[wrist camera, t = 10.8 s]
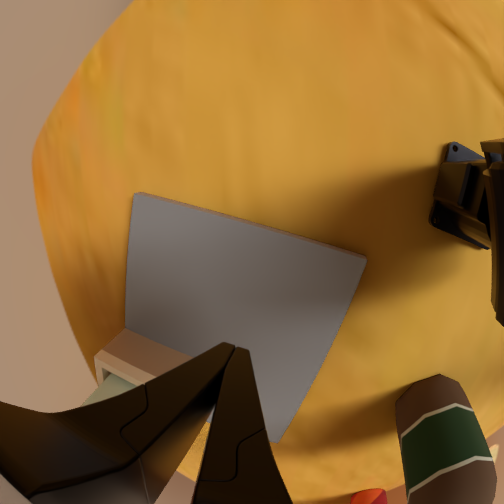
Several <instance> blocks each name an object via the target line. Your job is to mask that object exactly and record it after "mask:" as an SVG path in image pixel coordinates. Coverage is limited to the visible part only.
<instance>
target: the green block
mask: <svg viewBox="0 0 504 504" xmlns="http://www.w3.org/2000/svg"><path fill="white" fill-rule="evenodd" d="M135 387H137V386H136V385H134V384H132V383H130V382H128V381H126V380H124V379H123V378H121V377H119V376H117V375H115V374H113V373H111V374H110V375H109V376H108V377H107V378H106V379H105V381H104V382H103V383H102V384H101V385H100V386H99V387H98V388H97V389H96V390H95V391H94V392H93V393H92V395H91V396H90V397H89V398H88V399H87V400H86V401H85V402H84V403H83V404H82V405H81V406H80V407H82V406H85V405H89V404H92V403H95V402H99V401H102V400H105V399H108V398H111V397H114V396H116V395H119V394H121V393H124V392H126V391H128V390H131V389H133V388H135Z"/></svg>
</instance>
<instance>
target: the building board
mask: <svg viewBox="0 0 504 504" xmlns="http://www.w3.org/2000/svg"><path fill="white" fill-rule="evenodd" d="M366 263H367V259H366V257H365V256H364V255H361V254H358V253H354V252H351V251H348V250H345V249H342V248H338V247H335V246H332V245H329V244H325V243H322V242H319V241H316V240H312V239H309V238H306V237H302V236H299V235H296V234H292V233H289V232H286V231H282V230H279V229H275V228H272V227H268V226H265V225H262V224H258V223H255V222H251V221H248V220H244V219H240V218H237V217H233V216H230V215H226V214H223V213H219V212H215V211H212V210H208V209H204V208H201V207H197V206H193V205H189V204H186V203H182V202H178V201H174V200H170V199H167V198H163V197H159V196H155V195H151V194H147V193H143V192H138V193H134V198H133V206H132V214H131V223H130V233H129V244H128V256H127V272H126V296H125V328H124V329H123V330H122V331H121V332H120V333H119V334H118V335H117V336H116V337H114V338H113V339H112V340H111V341H110V342H109V343H108V344H107V345H106V346H105V347H103V348H102V349H101V350H100V351H99V352H98V353H97V354H96V355H95V356H94V362H95V369H96V376H97V382H98V387H99V386H100V385H101V384H102V383H103V382H104V381H105V379H106V378H107V377H108V376H109V375H110V374H111V373H113V374H115V375H117V376H119V377H121V378H123V379H124V380H126V381H128V382H130V383H132V384H134V385H136V386H139V385H141V384H144V385H145V382H148V381H150V380H152V379H154V378H156V377H158V376H160V375H162V374H163V373H165V372H167V371H169V370H171V369H173V368H175V367H177V366H179V365H181V364H183V363H185V362H187V361H188V360H190V359H192V358H194V357H196V356H198V355H200V354H201V353H203V352H205V351H207V350H209V349H211V348H212V347H214V346H216V345H218V344H220V343H221V342H227V343H230V344H233V345H235V346H236V347H237V346H239V347H242V348H245V349H248V350H249V351H250V355H251V360H252V365H253V370H254V375H255V379H256V384H257V389H258V393H259V398H260V403H261V407H262V412H263V416H264V421H265V426H266V430H267V434H268V438H269V441H270V442H274V443H278V442H279V440H280V439H281V437H282V436H283V434H284V432H285V431H286V429H287V427H288V426H289V424H290V422H291V421H292V419H293V417H294V416H295V414H296V412H297V410H298V409H299V407H300V405H301V403H302V401H303V400H304V398H305V396H306V394H307V392H308V391H309V389H310V387H311V385H312V383H313V381H314V379H315V377H316V375H317V374H318V372H319V370H320V368H321V366H322V364H323V362H324V360H325V358H326V356H327V354H328V352H329V349H330V347H331V345H332V343H333V341H334V339H335V337H336V335H337V332H338V330H339V328H340V326H341V324H342V321H343V319H344V317H345V315H346V312H347V310H348V308H349V305H350V303H351V301H352V298H353V296H354V293H355V291H356V288H357V286H358V283H359V281H360V278H361V276H362V273H363V271H364V268H365V265H366ZM213 411H214V409H213ZM213 411H212V412H211V414H210V416H209V418H208V419H207V421H206V422H208V423H211V419H212V415H213Z"/></svg>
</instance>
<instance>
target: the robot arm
mask: <svg viewBox="0 0 504 504" xmlns="http://www.w3.org/2000/svg"><path fill="white" fill-rule="evenodd" d="M480 144H481V148H482V152H484V155H485V158H484V157H482V156H481V155H479V154H477V153H475V152H474V151H472V150H470V149H468V148H466V147H465V146H463V145H461V144H459V143H457V142H450V143H449V144H448V147H447V152H446V156H445V161H444V162H443V163H442V164H441V167H440V172H439V176H438V179H437V183H436V187H435V191H434V194H433V196H434V203H433V206H432V209H431V213H430V216H429V223H430V225H432V226H434V227H436V228H438V229H441V230H443V231H445V232H448V233H450V234H452V235H455V236H457V237H459V238H462V239H464V240H466V241H468V242H471V243H473V244H475V245H477V246H479V247H481V248H484V249H486V250H488V249H490V248H491V251H492V289H491V302H492V305H493V308H494V311H495V312H496V320H497V321H498V322H499V323H500V324H501V325H502V326H503V327H504V138H502V139H495V140H489V141H483V142H480ZM453 146H455V148H456V151H455V152H454V151H453ZM435 217H437V222H436V223H434V218H435ZM213 409H214V411H213ZM212 411H213V415H212V419H211V423H210V427H209V431H208V435H207V439H206V443H205V447H204V451H203V455H202V460H201V464H200V468H199V472H198V476H197V480H196V484H195V488H194V492H193V496H192V500H191V504H293V502H292V500H291V498H290V496H289V493H288V491H287V489H286V486H285V484H284V482H283V479H282V477H281V475H280V472H279V470H278V467H277V464H276V462H275V459H274V456H273V453H272V450H271V446H270V442H269V438H268V434H267V430H266V426H265V421H264V416H263V412H262V407H261V403H260V398H259V393H258V389H257V384H256V379H255V375H254V370H253V365H252V360H251V355H250V351H249V350H248V349H245V348H242V347H239V346H237V347H236V346H235V345H233V344H230V343H227V342H221V343H220V344H218V345H216V346H214V347H212V348H211V349H209V350H207V351H205V352H203V353H201V354H200V355H198V356H196V357H194V358H192V359H190V360H188V361H187V362H185V363H183V364H181V365H179V366H177V367H175V368H173V369H171V370H169V371H167V372H165V373H163V374H162V375H160V376H158V377H156V378H154V379H152V380H150V381H148V382H145V385H144V384H141V385H139V386H137V387H135V388H133V389H131V390H128V391H126V392H124V393H121V394H119V395H116V396H114V397H111V398H108V399H105V400H102V401H99V402H95V403H92V404H89V405H85V406H82V407H78V408H75V409H71V410H67V411H63V412H57V413H43V412H38V411H34V410H30V409H25V408H22V407H18V406H15V405H11V404H7V403H4V402H1V401H0V504H154V503H155V501H156V500H157V498H158V497H159V495H160V494H161V492H162V491H163V489H164V487H165V486H166V485H167V483H168V482H169V480H170V479H171V477H172V476H173V474H174V472H175V471H176V469H177V468H178V466H179V465H180V463H181V461H182V460H183V458H184V457H185V455H186V454H187V452H188V450H189V449H190V447H191V445H192V444H193V442H194V441H195V439H196V437H197V436H198V434H199V432H200V431H201V429H202V427H203V426H204V424H205V423H206V421H207V419H208V418H209V416H210V414H211V412H212Z"/></svg>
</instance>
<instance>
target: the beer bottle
mask: <svg viewBox="0 0 504 504" xmlns="http://www.w3.org/2000/svg"><path fill="white" fill-rule="evenodd" d="M395 405H396V424H397V432H398V438H399V444H400V450H401V456H402V463H403V470H404V477H405V485H406V495H407V504H492V502H493V500H494V497H495V491H496V483H497V476H496V471H495V467H494V462H493V459H492V456H491V453H490V451H489V448H488V445H487V443H486V440H485V437H484V435H483V432H482V430H481V428H480V425H479V423H478V421H477V418H476V416H475V414H474V411H473V409H472V407H471V405H470V403H469V400H468V398H467V396H466V394H465V392H464V391H463V389H462V387H461V386H460V384H459V382H457V381H455V380H452V379H450V378H448V377H446V376H443V375H441V374H439V375H436V376H433V377H431V378H428V379H425V380H422V381H419V382H416V383H414V384H413V385H412V386H411V387H410V388H409V389H408V390H407V391H406V392H405V393H404V394H403V395H402V396H401V397H400V398H399V399H398V400H397V401H396V404H395Z"/></svg>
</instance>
